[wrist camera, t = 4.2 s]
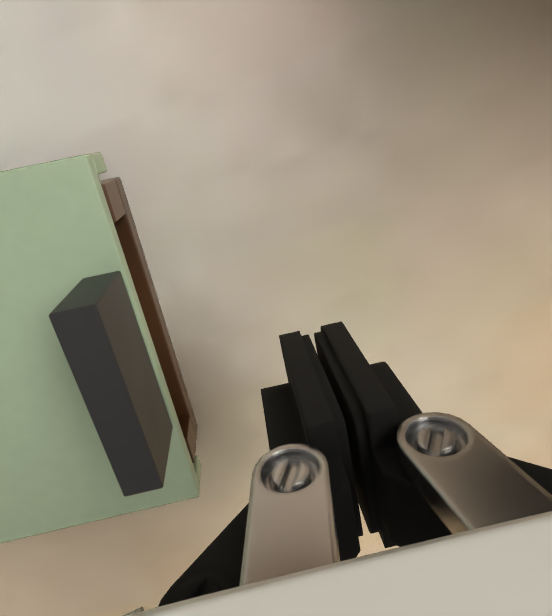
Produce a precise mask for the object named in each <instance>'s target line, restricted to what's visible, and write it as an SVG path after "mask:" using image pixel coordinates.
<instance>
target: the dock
mask: <svg viewBox="0 0 552 616" xmlns="http://www.w3.org/2000/svg"><path fill="white" fill-rule="evenodd" d="M100 183H101V186H102V189H103V192H104V195H105V198H106V201H107V204H108V207H109V210H110V214H111V217H112V220H113V223H114V226H115V229H116V232H117V235H118V238H119V241H120V244H121V247H122V250H123V253H124V256H125V259H126V262H127V265H128V268H129V271H130V274H131V277H132V281H133V284H134V287H135V290H136V293H137V296H138V299H139V302H140V305H141V308H142V311H143V314H144V317H145V320H146V323H147V326H148V329H149V332H150V335H151V338H152V341H153V344H154V347H155V351H156V354H157V357H158V360H159V363H160V366H161V369H162V372H163V375H164V378H165V381H166V384H167V387H168V390H169V393H170V396H171V399H172V402H173V405H174V408H175V411H176V414H177V418H178V421H179V424H180V427H181V430H182V433H183V436H184V439H185V442H186V445H187V448H188V451H189V454H190V457H191V460H192V463H194V462H195V453H196V439H197V437H196V436H197V424H196V420H195V417H194V414H193V411H192V408H191V404H190V401H189V398H188V395H187V391H186V388H185V385H184V382H183V379H182V375H181V372H180V369H179V366H178V363H177V359H176V356H175V353H174V350H173V346H172V343H171V340H170V337H169V334H168V330H167V327H166V324H165V321H164V317H163V314H162V311H161V308H160V305H159V301H158V298H157V295H156V292H155V288H154V285H153V282H152V279H151V276H150V272H149V269H148V266H147V263H146V260H145V256H144V253H143V250H142V247H141V243H140V240H139V237H138V234H137V231H136V227H135V224H134V221H133V218H132V214H131V211H130V208H129V205H128V202H127V198H126V195H125V192H124V189H123V185H122V182H121V179H120V178H118V177H117V178H112V179H107V180H102V181H100Z"/></svg>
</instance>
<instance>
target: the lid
mask: <svg viewBox="0 0 552 616" xmlns="http://www.w3.org/2000/svg"><path fill="white" fill-rule="evenodd" d="M106 170H107V169H106V166H105V163H104V160H103V157H102V154H101V153H92V154H86V155H81V156H76V157H71V158H66V159H61V160H56V161H51V162H46V163H41V164H36V165H31V166H26V167H21V168H16V169H11V170H6V171H1V172H0V543H4V542H8V541H12V540H16V539H21V538H25V537H29V536H33V535H38V534H42V533H46V532H50V531H55V530H59V529H63V528H68V527H72V526H76V525H80V524H85V523H89V522H93V521H97V520H102V519H106V518H110V517H114V516H119V515H123V514H127V513H131V512H136V511H140V510H144V509H148V508H153V507H157V506H161V505H165V504H170V503H174V502H178V501H182V500H187V499H191V498H195V497H199V494H200V475H201V463H200V460H199V457H198V456H197V455H196V456H195V462H194V463H192V460H191V457H190V454H189V451H188V448H187V445H186V442H185V439H184V436H183V433H182V430H181V427H180V424H179V421H178V418H177V414H176V411H175V408H174V405H173V402H172V399H171V396H170V393H169V390H168V387H167V384H166V381H165V378H164V375H163V372H162V369H161V366H160V363H159V360H158V357H157V354H156V351H155V347H154V344H153V341H152V338H151V335H150V332H149V329H148V326H147V323H146V320H145V317H144V314H143V311H142V308H141V305H140V302H139V299H138V296H137V293H136V290H135V287H134V284H133V281H132V277H131V274H130V271H129V268H128V265H127V262H126V259H125V256H124V253H123V250H122V247H121V244H120V241H119V238H118V235H117V232H116V229H115V226H114V223H113V220H112V217H111V214H110V210H109V207H108V204H107V201H106V198H105V195H104V192H103V189H102V186H101V183H100V180H99V177H98V174H101V173H104V172H106Z"/></svg>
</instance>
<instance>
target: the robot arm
mask: <svg viewBox="0 0 552 616" xmlns="http://www.w3.org/2000/svg"><path fill="white" fill-rule="evenodd" d="M314 336H315V343H316V348H317V353H316V351H315V348H314V346H313V344H312V342H311V339H310V337H309V335H304V336H301V334H300V332H299V331H297V332H292V333H288V334H283V335H279V338H280V343H281V348H282V353H283V358H284V363H285V368H286V372H287V377H288V382H289V383H286V384H282V385H277V386H273V387H268V388H264V389H261V395H262V401H263V408H264V415H265V421H266V428H267V434H268V441H269V448H270V451H269V452H267V453H266V454H265V455H263V456H262V457H261V458H260V459H259V461H258V462H257V463H256V465H255V467H254V470H253V473H252V480H251V489H250V498H249V503H248V504H247V505H246V506H245V508H244V509H243V510H242V511H241V512H240V513H239V514H238V515H237V516H236V517H235V518H234V519H233V520H232V522H231V523H230V524H229V525H228V526H227V527H226V528H225V529H224V530H223V531H222V532H221V533H220V534H219V536H218V537H217V538H216V539H215V540H214V541H213V542H212V543H211V544H210V545H209V546H208V547H207V548H206V550H205V551H204V552H203V553H202V554H201V555H200V556H199V557H198V558H197V559H196V560H195V561H194V562H193V564H192V565H191V566H190V567H189V568H188V569H187V570H186V571H185V572H184V573H183V574H182V575H181V576H180V578H179V579H178V580H177V581H176V582H175V583H174V584H173V585H172V586H171V587H170V589H169V590H168V591H167V593H166V594H165V595H164V597H163V598H162V599H161V601H160V604H159V606H158V607H156V608H152V609H148V610H145V611H144V609H143V607H141V608H138V609H136V610H134V611H132V612H130V613H128V614H126V615H123V616H552V469H549V468H545V467H542V466H538V465H535V464H531V463H528V462H524V461H521V460H517V459H514V458H510V457H507V456H506V455H505V454H503V453H502V452H501V451H500V450H499V449H498V448H496V447H495V446H494V445H493V444H492V443H491V442H489V441H488V440H487V439H486V438H485V437H484V436H483V435H481V434H480V433H479V432H478V431H477V430H476V429H474V428H473V427H472V426H471V425H470V424H468V423H467V422H465V421H464V420H462V419H461V418H458V417H456V416H453V415H450V414H445V413H439V412H432V413H422V412H421V410H420V409H419V407H418V406H417V405H416V403H415V402H414V401H413V399H412V398H411V396H410V395H409V394H408V392H407V391H406V389H405V388H404V387H403V385H402V384H401V382H400V381H399V380H398V378H397V377H396V376H395V374H394V373H393V371H392V370H391V369H390V367H389V366H388V364H387V363H386V362H379V363H375V364H371V365H369V363H368V362H367V360H366V359H365V357H364V356H363V354H362V352H361V351H360V349H359V348H358V346H357V345H356V343H355V341H354V340H353V338H352V337H351V335H350V334H349V332H348V331H347V329H346V327H345V326H344V324H343V323H342V322H337V323H333V324H328V325H324V326H321V332H317V333H314ZM317 354H318V355H317ZM358 503H359V505H360V508H361V511H362V514H363V516H364V519H365V522H366V524H367V527H368V530H369V532H370V533H376V532H379V534H380V536H381V539H382V541H383V544H384V547H385V548H388V547H392V546H396V545H397V546H399V547H398V548H394V549H390V550H386V551H382V552H378V553H373V554H369V555H365V556H361V557H357V555H358V553H359V552H360V544H359V538H358V537H359V536H363V530H362V524H361V517H360V511H359V505H358ZM356 557H357V558H356Z"/></svg>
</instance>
